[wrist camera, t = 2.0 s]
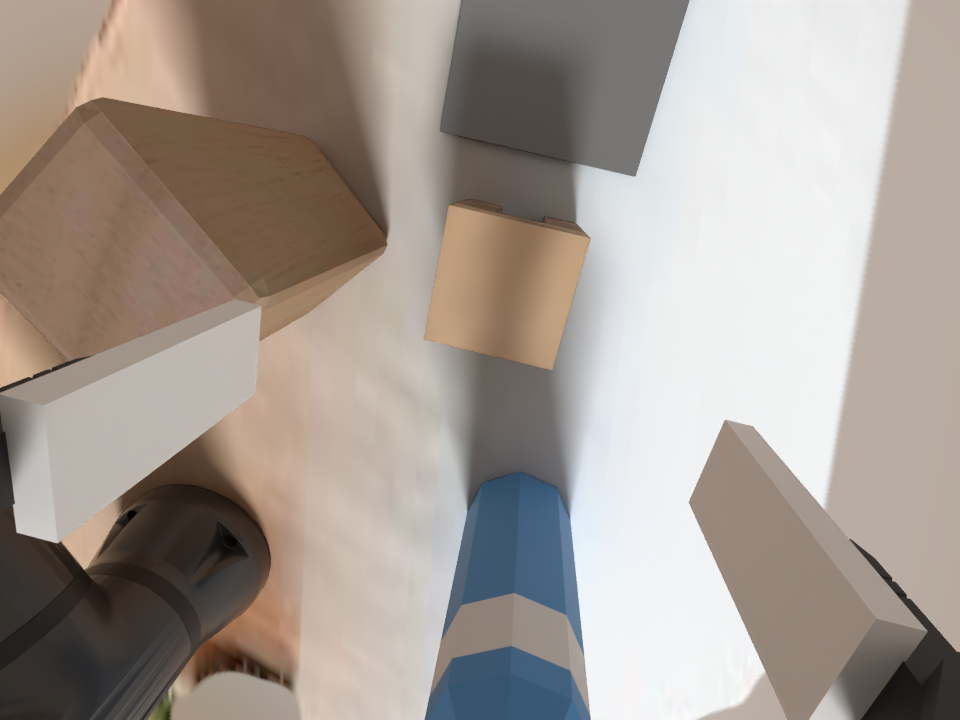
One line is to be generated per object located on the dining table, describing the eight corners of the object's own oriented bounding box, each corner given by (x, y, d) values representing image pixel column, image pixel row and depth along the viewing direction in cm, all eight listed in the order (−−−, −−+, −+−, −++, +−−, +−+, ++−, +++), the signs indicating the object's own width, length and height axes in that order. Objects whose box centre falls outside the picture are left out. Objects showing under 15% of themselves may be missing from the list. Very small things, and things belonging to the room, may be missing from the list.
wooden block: (220, 215, 40) (-61, 246, 21) (310, 131, 37) (79, 80, 18) (304, 316, 42) (118, 426, 23) (396, 244, 39) (268, 302, 20)
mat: (441, 131, 36) (439, 130, 36) (483, -112, 31) (482, -117, 31) (633, 176, 36) (635, 176, 35) (706, -63, 31) (710, -67, 30)
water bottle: (521, 452, 44) (505, 761, 21) (592, 521, 46) (651, 882, 22) (446, 510, 47) (357, 841, 23) (515, 574, 48) (496, 943, 25)
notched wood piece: (449, 302, 40) (423, 339, 31) (470, 198, 37) (449, 205, 28) (548, 325, 40) (552, 370, 31) (576, 223, 37) (590, 238, 28)
